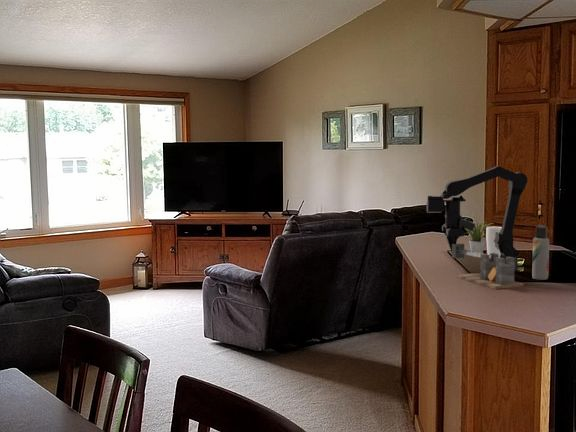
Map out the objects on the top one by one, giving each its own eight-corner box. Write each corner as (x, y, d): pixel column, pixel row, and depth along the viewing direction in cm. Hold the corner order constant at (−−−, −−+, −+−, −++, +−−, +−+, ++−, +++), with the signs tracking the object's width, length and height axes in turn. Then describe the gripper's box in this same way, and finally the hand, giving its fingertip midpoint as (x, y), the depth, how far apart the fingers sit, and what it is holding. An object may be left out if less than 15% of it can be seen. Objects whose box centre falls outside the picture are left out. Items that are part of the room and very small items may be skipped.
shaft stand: (457, 277, 249) (457, 250, 248) (483, 274, 253) (484, 248, 252) (495, 289, 227) (495, 260, 226) (523, 286, 231) (524, 257, 230)
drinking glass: (502, 263, 278) (503, 228, 276) (486, 262, 279) (487, 228, 278) (501, 260, 284) (501, 226, 283) (484, 260, 286) (485, 226, 284)
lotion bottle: (547, 277, 246) (549, 225, 244) (548, 280, 241) (550, 226, 239) (531, 276, 248) (533, 224, 246) (532, 279, 243) (533, 226, 241)
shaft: (451, 257, 259) (452, 243, 258) (460, 256, 260) (460, 243, 260) (485, 266, 238) (485, 251, 238) (494, 265, 240) (495, 250, 239)
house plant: (491, 251, 309) (492, 217, 307) (498, 256, 295) (499, 220, 294) (461, 251, 310) (461, 217, 309) (466, 256, 297) (466, 220, 295)
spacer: (487, 276, 237) (493, 267, 233) (498, 275, 239) (504, 266, 235) (490, 281, 235) (496, 272, 232) (502, 280, 237) (508, 271, 233)
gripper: (478, 214, 250) (477, 254, 252) (469, 210, 269) (469, 247, 270) (448, 215, 251) (448, 254, 253) (441, 210, 270) (441, 247, 271)
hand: (452, 251), depth 262 cm, fingers closed
